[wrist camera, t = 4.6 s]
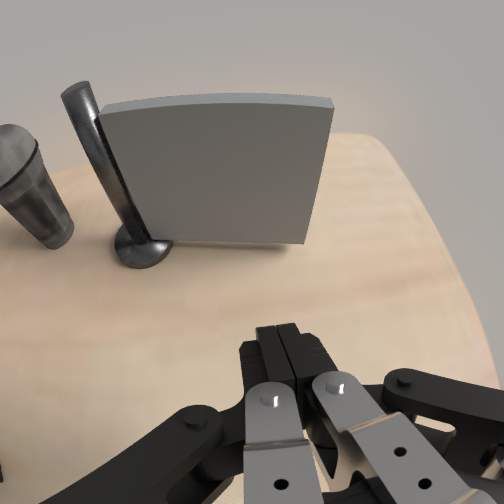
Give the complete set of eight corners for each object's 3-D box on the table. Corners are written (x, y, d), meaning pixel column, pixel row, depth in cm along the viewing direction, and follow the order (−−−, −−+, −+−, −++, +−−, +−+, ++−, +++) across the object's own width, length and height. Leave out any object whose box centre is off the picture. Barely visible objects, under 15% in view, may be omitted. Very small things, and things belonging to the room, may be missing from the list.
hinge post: (111, 267, 27) (17, 126, 12) (126, 218, 30) (62, 77, 15) (167, 270, 27) (93, 106, 12) (178, 218, 30) (132, 60, 15)
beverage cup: (77, 199, 32) (8, 63, 15) (90, 238, 29) (-3, 84, 12) (33, 227, 30) (-49, 107, 13) (40, 270, 27) (-70, 141, 10)
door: (152, 239, 27) (97, 115, 15) (157, 219, 28) (112, 95, 16) (303, 244, 27) (334, 108, 15) (302, 222, 28) (327, 89, 16)
